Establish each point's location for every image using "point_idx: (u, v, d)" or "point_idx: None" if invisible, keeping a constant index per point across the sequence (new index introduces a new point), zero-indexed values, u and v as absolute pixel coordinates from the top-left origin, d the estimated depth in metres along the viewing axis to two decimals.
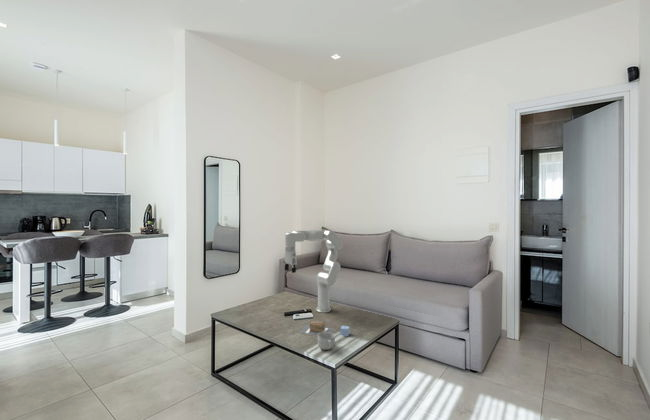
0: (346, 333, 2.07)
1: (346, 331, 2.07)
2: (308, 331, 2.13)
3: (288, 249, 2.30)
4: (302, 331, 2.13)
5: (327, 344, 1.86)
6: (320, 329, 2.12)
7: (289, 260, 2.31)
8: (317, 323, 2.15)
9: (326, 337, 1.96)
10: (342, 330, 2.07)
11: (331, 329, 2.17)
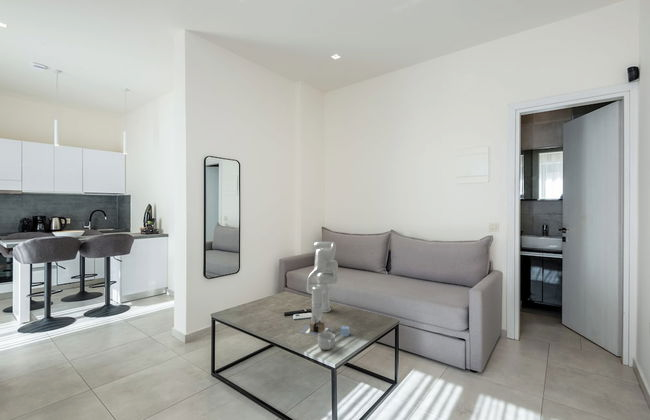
0: (346, 333, 2.07)
1: (346, 331, 2.07)
2: (308, 331, 2.13)
3: None
4: (302, 331, 2.13)
5: (327, 344, 1.86)
6: (320, 329, 2.12)
7: (321, 315, 2.17)
8: None
9: (326, 337, 1.96)
10: (342, 330, 2.07)
11: (331, 329, 2.17)
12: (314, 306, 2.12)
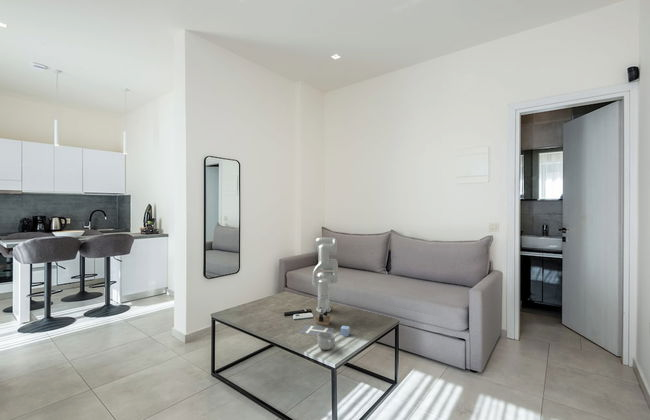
0: (346, 333, 2.07)
1: (346, 331, 2.07)
2: (308, 331, 2.13)
3: None
4: (302, 331, 2.13)
5: (327, 344, 1.86)
6: (326, 322, 2.25)
7: (327, 306, 2.30)
8: (323, 316, 2.28)
9: (326, 337, 1.96)
10: (342, 330, 2.07)
11: (331, 329, 2.17)
12: (320, 298, 2.25)
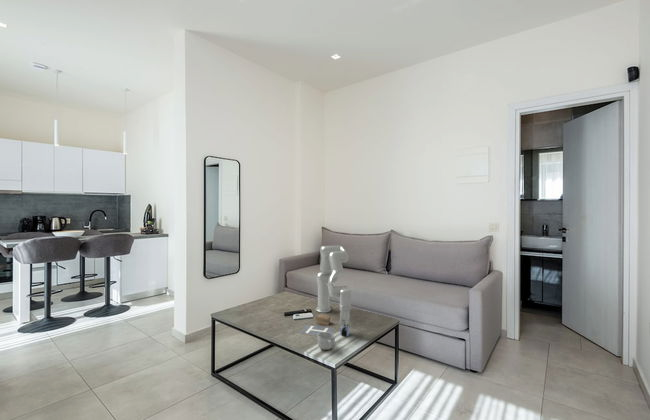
0: (346, 333, 2.07)
1: (346, 331, 2.07)
2: (308, 331, 2.13)
3: None
4: (302, 331, 2.13)
5: (327, 344, 1.86)
6: (326, 322, 2.25)
7: (349, 318, 2.11)
8: (323, 316, 2.28)
9: (326, 337, 1.96)
10: None
11: (331, 329, 2.17)
12: (342, 309, 2.06)
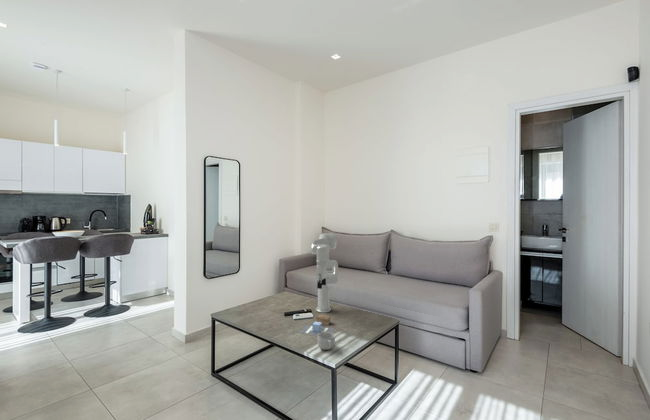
0: (318, 329, 2.13)
1: (318, 327, 2.12)
2: (308, 331, 2.13)
3: None
4: (302, 331, 2.13)
5: (327, 344, 1.86)
6: (326, 322, 2.25)
7: (325, 273, 2.26)
8: (323, 316, 2.28)
9: (326, 337, 1.96)
10: (314, 326, 2.13)
11: (331, 329, 2.17)
12: (319, 264, 2.20)
